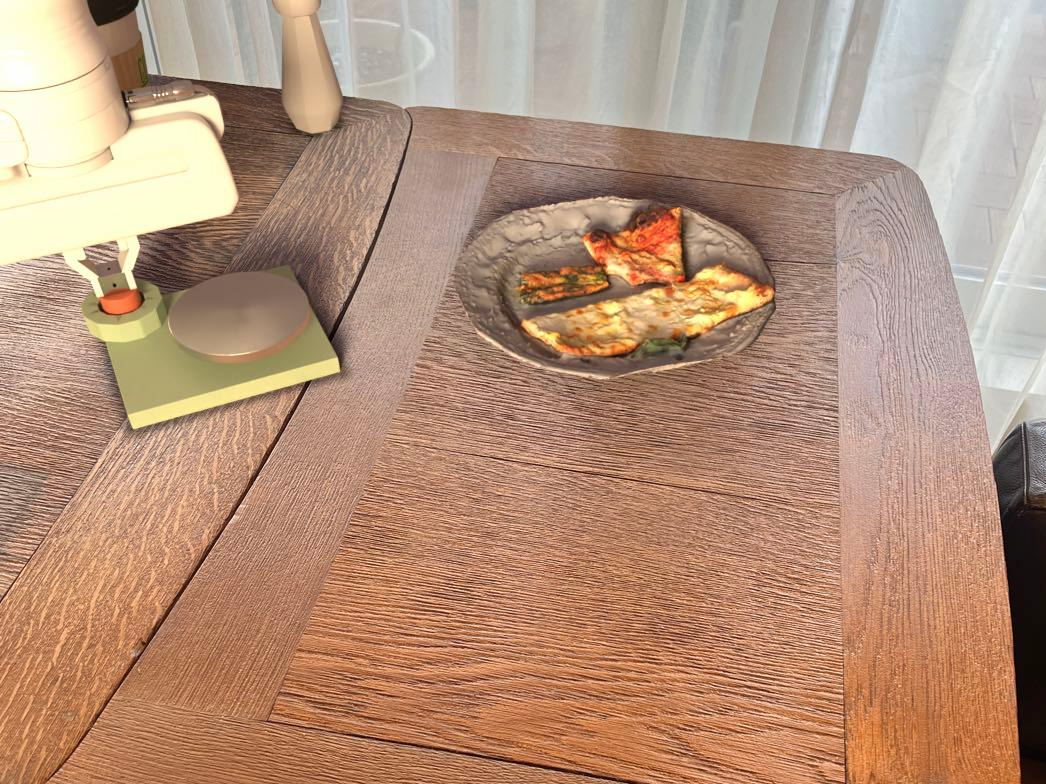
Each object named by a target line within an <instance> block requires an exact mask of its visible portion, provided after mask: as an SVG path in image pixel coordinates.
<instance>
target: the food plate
mask: <svg viewBox="0 0 1046 784" xmlns="http://www.w3.org/2000/svg"><path fill="white" fill-rule="evenodd" d="M453 275H454V278H453V284H454V287H455V291H456V294H457V298H458V300H459V302H460V306H462V308H463V312H464V314H465V315H466V318H467V319H468V321H469V323H470V325H471V327H472V328H473V330H474V332H475V333H476V335H478V337H480V338H481V339H483V340H485V342H488V344H490V345H491V346H494V347H496V348H498V350H500V351H503V352H504V353H506V354H508V355H509V356H511V357H513V358H516V359H517V360H519V361H520V362H522V363H523V362H525V363H526V364H529V365H531V366H533V367H537V368H540V369H544V370H547V371H551V372H555V373H558V374H559V373H560V374H565V375H569V376H574V377H580V378H589V379H596V380H600V381H604V380H605V381H608V380H611V379H616V378H626V377H628V376H629V377H631V376H633V375H637V374H638V375H640V374H647V373H653V374H655V373H657V372H663V371H668V370H672V369H678V368H680V367H684V366H685V367H686V366H693V365H694V366H695V365H697V364H701V363H703V362H712V361H714V360H719V361H721V360H722V359H728V358H729V357H731V356H732V355H733V356H734V355H737V354H738V353H741V352H744V351H745V350H746V349H747V348H750V347H751V346H752V345H753V344H754V343H755V342H756V341H757V340H759V337H760V336H761V334H762V332H763V330H764V328H765V327H766V326H767V324H768V322H769V320H771V317H772V316H773V315H774V312H776V311H777V304H776V300H775V298H776V297H775V296H776V290H777V289H776V288H777V287H776V286H777V285H776V278H775V277H774V276H773V275H772V270H771V268H770V266H769V264H767V262H766V260H765V258H764V256H763V254H762V252H761V251H760V249H759V248H758V246H756V244H754V243H752V241H751V240H750V239H748V238H747V237H746V236H745V235H744V234H743V233H741V232H740V231H739V230H737V229H736V228H734V227H732V226H730V225H728V224H726V223H724V222H721V220H720V221H719V220H718V219H716V218H713V217H712V216H710V215H708V214H706V213H703V212H702V211H700V210H698V209H695V208H692V207H690V206H687V205H684V204H675V203H672V202H670V203H668V202H665V203H661V202H660V201H654V199H650V198H641V199H633V198H625V197H620V196H618V195H617V196H615V195H611V196H607V195H606V196H603V197H602V196H599V197H596V198H593V197H591V198H588V199H587V198H586V199H578V200H575V201H573V200H572V201H563V202H558V203H556V204H555V203H552V204H549V205H548V204H546V205H541V206H536V207H529V209H525V208H524V209H519V210H512V212H509V213H507V214H504V215H502V216H500V217H499V218H495V219H493V220H492V221H491V222H489V223H487V224H486V225H485V226H484V227H483V228H481V229H480V230H479V231H478V232H477V233H476V235H475V236H474V237H472V238H471V240H470V241H469V242H468V243H467V245H466V246H465V247H464V249H463V250H462V251H461V253H460V254H459V257H458V258H457V259H456V262H455V267H454V273H453Z"/></svg>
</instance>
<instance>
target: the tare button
mask: <svg viewBox="0 0 1046 784" xmlns="http://www.w3.org/2000/svg"><path fill="white" fill-rule="evenodd" d="M127 282H128V281H127ZM136 286H137V285H136ZM99 299H100V302H101V305H102V307H103V310H104V312H105V314H107V315H117V316H119V315H123V314H127V313H131V312H134V311H135V310H137V309H138V308H140V307H141V306H142V305H143V303H142V299H141V296H140V294H139V291H138V288H137V289H133V290H128V291H124V292H120V293H116V294H112V295H108V296H105V297H100V298H99Z"/></svg>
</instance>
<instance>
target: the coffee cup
mask: <svg viewBox="0 0 1046 784" xmlns="http://www.w3.org/2000/svg"><path fill="white" fill-rule="evenodd" d="M87 4H88V7H89V11H90V13H91V16H92V18H93V20H94V22H95V23H96V25H97V27H98V28H99V30H100V31H101V33H102V35H103V36H104V39H105V41H106V44H107V47H108V51H109V54H110V57H111V60H112V64H113V67H114V70H115V74H116V77H117V80H118V84H119V87H120V90H121V91H126V90H130V89H137V88H142V87H151V82H150V78H149V71H148V65H147V60H146V58H147V57H146V53H145V48H144V47H145V46H144V41H143V35H142V31H141V30H140V28H139V27H140V26H139V22H138V21H139V20H138V16H137V10H136V8H138V6H139V4H140V0H87ZM127 109H128V108H127Z"/></svg>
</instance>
